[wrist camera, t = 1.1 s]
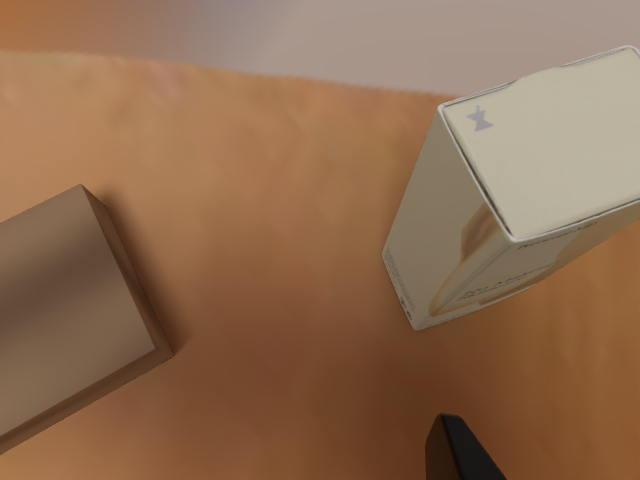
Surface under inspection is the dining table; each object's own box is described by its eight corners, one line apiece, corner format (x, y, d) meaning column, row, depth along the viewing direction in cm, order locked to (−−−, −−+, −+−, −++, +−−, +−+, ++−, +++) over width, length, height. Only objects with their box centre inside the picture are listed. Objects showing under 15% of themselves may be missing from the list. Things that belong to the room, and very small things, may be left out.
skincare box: (413, 335, 22) (501, 253, 11) (377, 253, 24) (422, 105, 12) (534, 289, 23) (738, 166, 12) (493, 212, 24) (638, 35, 13)
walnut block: (177, 356, 23) (155, 348, 20) (-5, 460, 21) (-57, 467, 18) (108, 208, 25) (80, 183, 23) (-57, 292, 24) (-109, 276, 21)
